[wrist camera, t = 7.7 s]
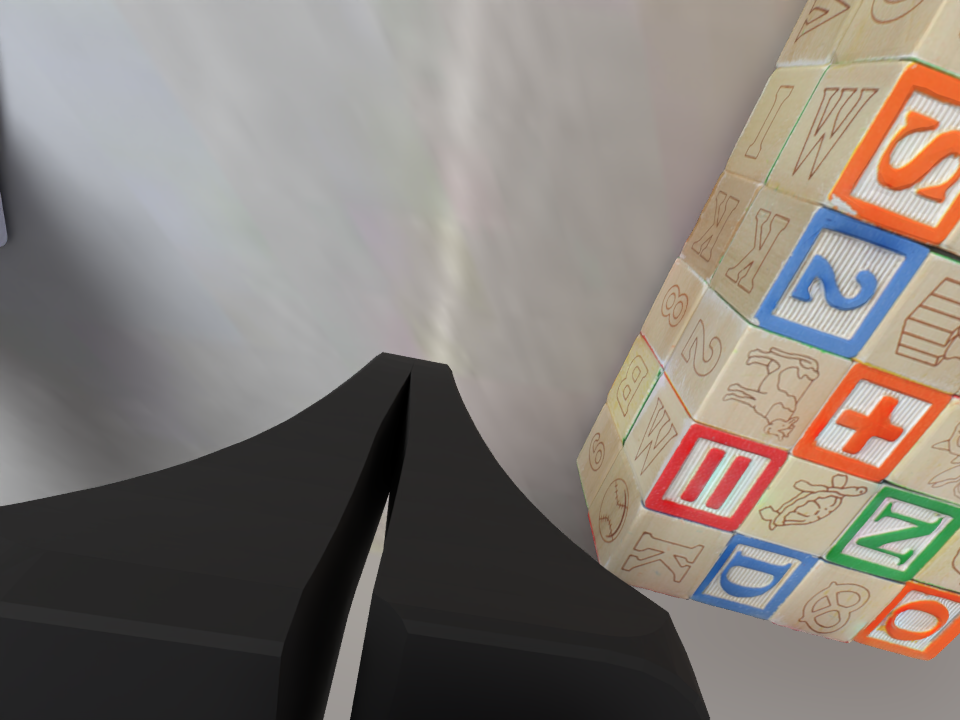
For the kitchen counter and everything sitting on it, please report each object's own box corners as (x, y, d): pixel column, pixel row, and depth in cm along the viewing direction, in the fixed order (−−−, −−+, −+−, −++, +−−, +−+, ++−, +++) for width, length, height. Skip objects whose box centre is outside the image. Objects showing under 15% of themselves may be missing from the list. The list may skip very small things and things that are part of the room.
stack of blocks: (1167, -387, 8) (1725, -77, 10) (896, -198, 14) (1278, -19, 15) (599, 582, 18) (934, 667, 19) (572, 461, 23) (833, 534, 25)
